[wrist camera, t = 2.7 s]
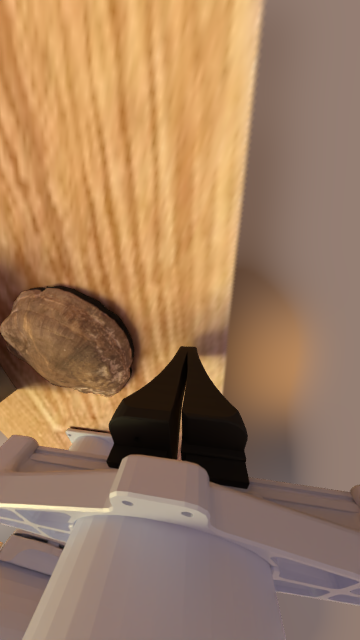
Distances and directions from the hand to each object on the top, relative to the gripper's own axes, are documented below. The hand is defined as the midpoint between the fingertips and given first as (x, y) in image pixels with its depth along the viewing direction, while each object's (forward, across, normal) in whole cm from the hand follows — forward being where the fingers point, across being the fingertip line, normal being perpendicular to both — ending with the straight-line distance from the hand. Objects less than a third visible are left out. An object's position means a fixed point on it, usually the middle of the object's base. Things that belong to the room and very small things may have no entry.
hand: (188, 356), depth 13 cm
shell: (+2, +11, 0) cm, 11 cm away
